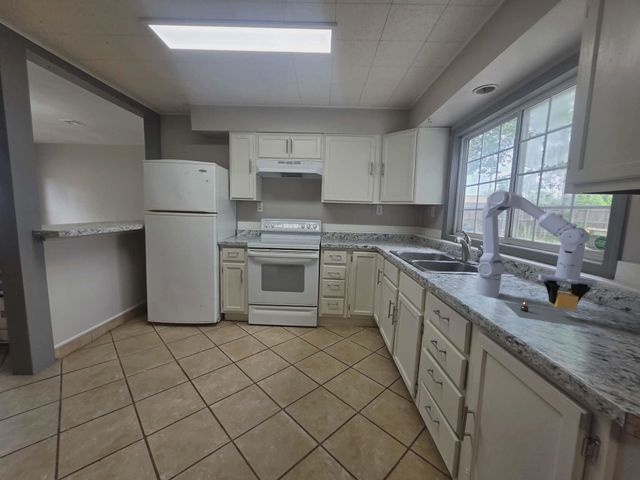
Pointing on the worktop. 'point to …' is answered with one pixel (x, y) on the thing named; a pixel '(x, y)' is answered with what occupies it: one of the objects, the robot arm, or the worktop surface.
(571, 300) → the orange block
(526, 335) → the worktop surface
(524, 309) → the wire post
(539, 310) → the plate
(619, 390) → the worktop surface
